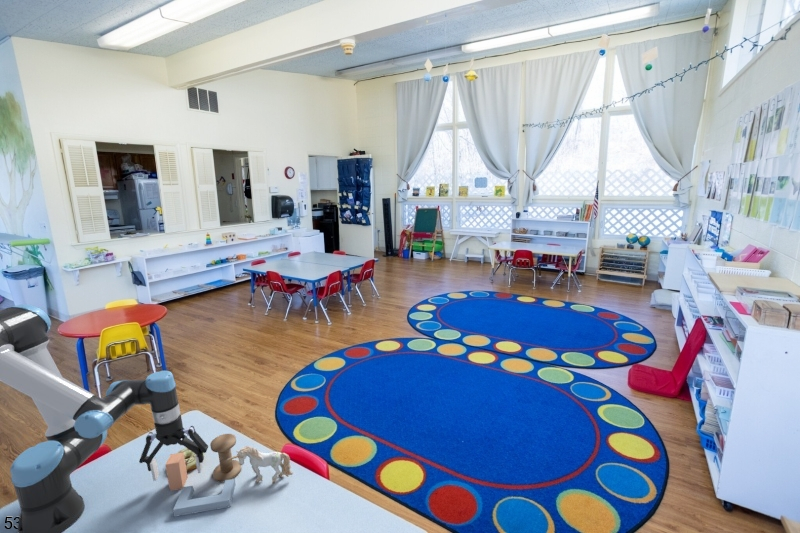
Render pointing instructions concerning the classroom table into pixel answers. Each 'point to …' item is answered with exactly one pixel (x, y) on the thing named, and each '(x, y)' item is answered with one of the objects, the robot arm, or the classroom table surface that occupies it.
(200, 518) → the classroom table surface
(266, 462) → the unicorn figurine
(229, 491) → the u-shaped block
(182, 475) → the tab
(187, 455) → the decorated donut
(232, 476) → the bobbin
